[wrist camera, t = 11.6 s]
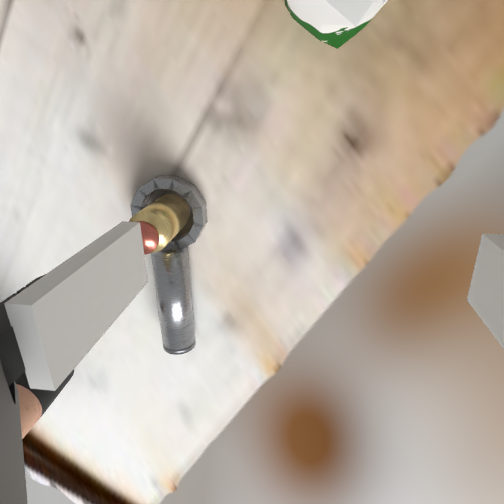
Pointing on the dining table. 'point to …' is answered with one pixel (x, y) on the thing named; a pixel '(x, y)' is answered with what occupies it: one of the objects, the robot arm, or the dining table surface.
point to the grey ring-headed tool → (175, 266)
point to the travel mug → (34, 401)
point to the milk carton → (333, 17)
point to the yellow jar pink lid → (161, 221)
